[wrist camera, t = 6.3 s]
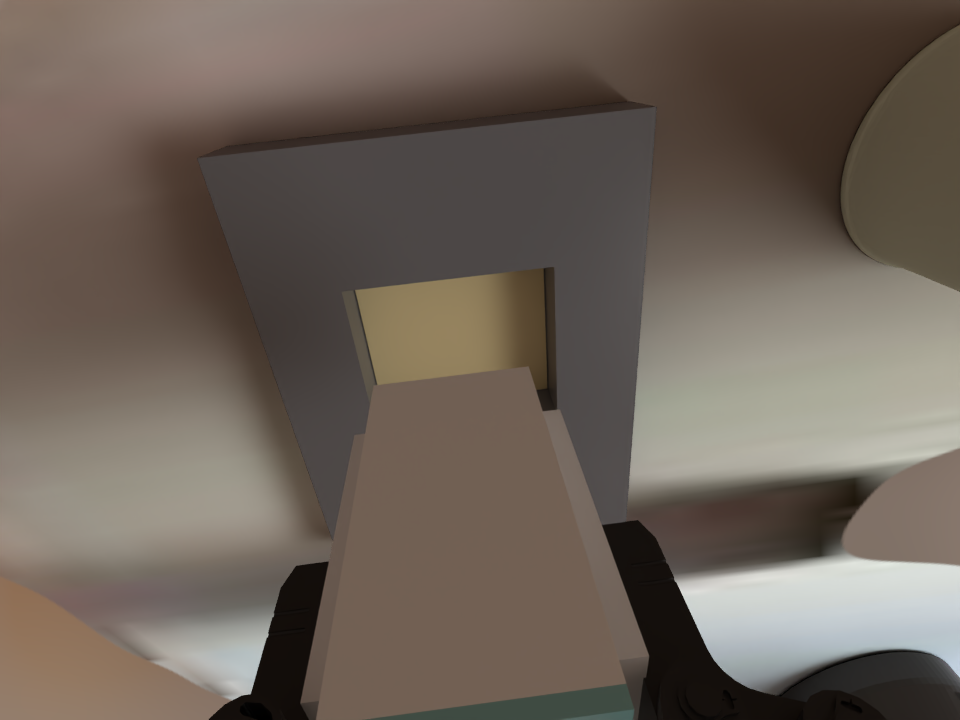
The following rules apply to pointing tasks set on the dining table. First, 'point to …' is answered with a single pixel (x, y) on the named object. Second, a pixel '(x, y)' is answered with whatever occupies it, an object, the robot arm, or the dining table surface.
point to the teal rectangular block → (466, 567)
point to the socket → (449, 270)
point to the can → (910, 168)
